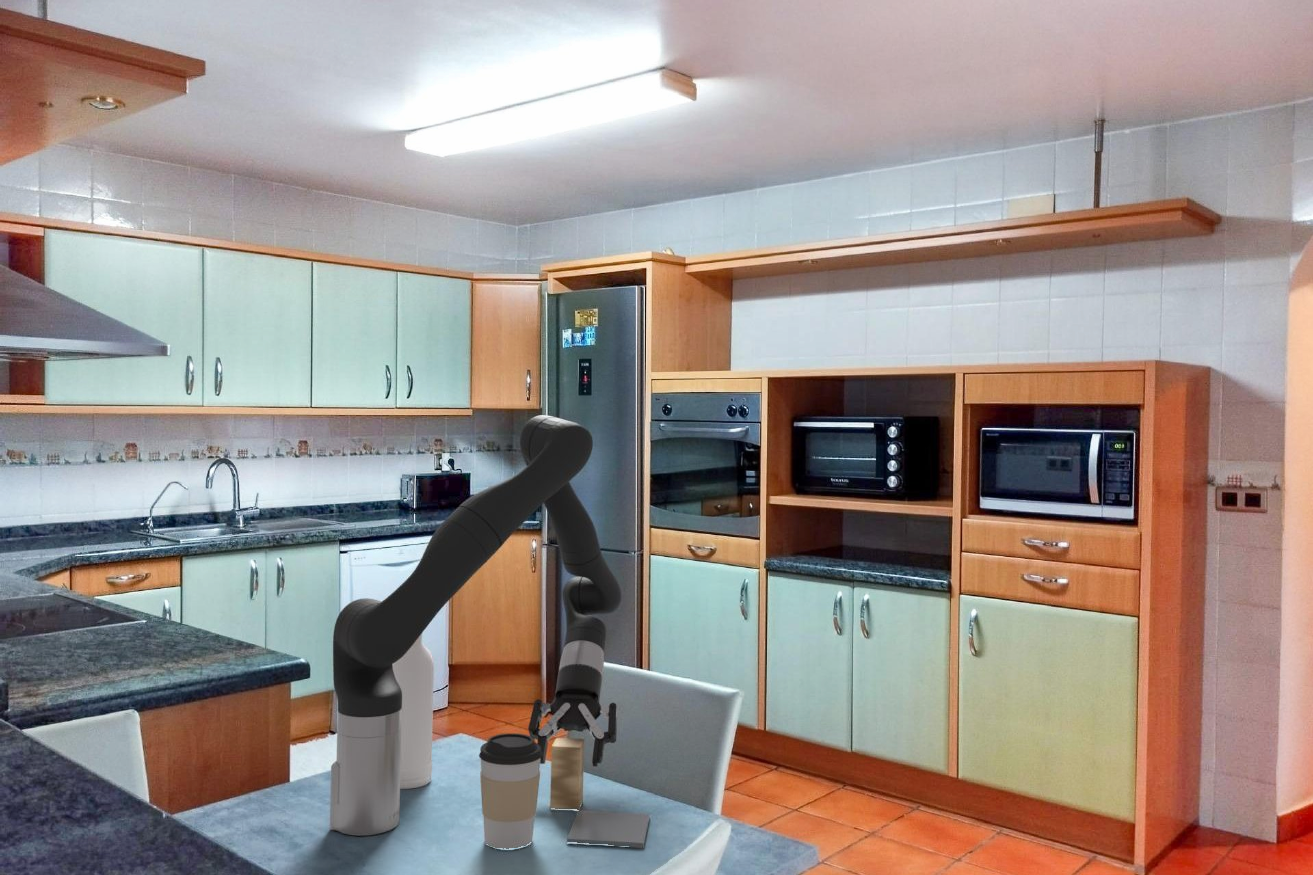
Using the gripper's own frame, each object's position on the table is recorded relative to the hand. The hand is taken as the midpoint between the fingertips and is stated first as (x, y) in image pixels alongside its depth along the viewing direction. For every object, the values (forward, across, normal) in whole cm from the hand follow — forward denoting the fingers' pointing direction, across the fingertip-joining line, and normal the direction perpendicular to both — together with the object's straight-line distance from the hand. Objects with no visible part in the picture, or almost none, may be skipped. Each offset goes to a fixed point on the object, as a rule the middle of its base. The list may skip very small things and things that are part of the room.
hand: (568, 762), depth 162 cm
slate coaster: (+12, +8, -3) cm, 15 cm away
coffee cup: (+16, -6, -7) cm, 18 cm away
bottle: (0, -28, +9) cm, 29 cm away
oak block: (+5, 0, +4) cm, 6 cm away
